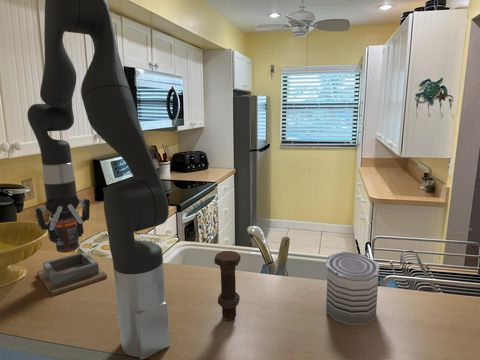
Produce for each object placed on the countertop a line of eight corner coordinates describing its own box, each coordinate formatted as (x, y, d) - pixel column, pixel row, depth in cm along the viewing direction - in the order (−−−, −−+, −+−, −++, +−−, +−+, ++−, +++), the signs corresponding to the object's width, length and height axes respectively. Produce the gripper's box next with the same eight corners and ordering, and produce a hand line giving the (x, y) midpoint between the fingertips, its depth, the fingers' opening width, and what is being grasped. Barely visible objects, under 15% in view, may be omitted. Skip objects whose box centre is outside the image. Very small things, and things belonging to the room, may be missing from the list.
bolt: (219, 326, 78) (216, 261, 75) (214, 313, 83) (212, 252, 79) (244, 321, 79) (243, 258, 76) (238, 309, 84) (237, 249, 81)
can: (374, 301, 86) (377, 254, 84) (379, 329, 76) (382, 277, 73) (325, 295, 89) (327, 250, 87) (323, 321, 79) (325, 271, 76)
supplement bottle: (84, 245, 103) (79, 207, 101) (72, 253, 97) (67, 213, 95) (64, 244, 103) (59, 207, 101) (51, 253, 98) (46, 213, 95)
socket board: (107, 277, 101) (105, 264, 100) (52, 295, 92) (50, 281, 91) (87, 260, 112) (86, 248, 112) (37, 274, 103) (35, 261, 103)
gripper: (32, 186, 89) (42, 250, 92) (91, 177, 98) (98, 236, 101) (25, 182, 94) (35, 242, 98) (82, 174, 103) (89, 229, 107)
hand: (67, 238), depth 100 cm, fingers closed on supplement bottle, 6 cm apart
